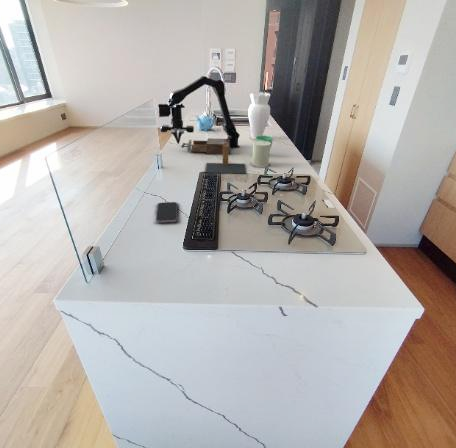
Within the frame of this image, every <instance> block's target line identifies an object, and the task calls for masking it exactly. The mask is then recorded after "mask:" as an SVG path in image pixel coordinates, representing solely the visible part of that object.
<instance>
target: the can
mask: <svg viewBox="0 0 456 448" xmlns="http://www.w3.org/2000/svg"><path fill="white" fill-rule="evenodd" d="M270 145H271V143H270V142H267V141H256V140H253V142H252V155H251V163H250V164H251V165H252V166H253V167H257V168H266V167H268V166H269V165H270V163H269V161H270V152H271V148H270ZM271 146H272V145H271Z"/></svg>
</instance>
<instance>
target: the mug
mask: <svg viewBox="0 0 456 448" xmlns="http://www.w3.org/2000/svg"><path fill="white" fill-rule="evenodd" d="M255 141H267V142H270V143H271V145H270V149H271V148H272V145H273V141H274V138H273V137H272V136H268V135H265V134H263V136H258V137H256V140H255Z"/></svg>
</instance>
